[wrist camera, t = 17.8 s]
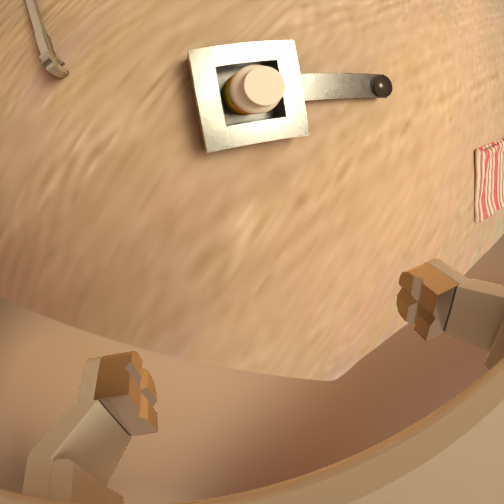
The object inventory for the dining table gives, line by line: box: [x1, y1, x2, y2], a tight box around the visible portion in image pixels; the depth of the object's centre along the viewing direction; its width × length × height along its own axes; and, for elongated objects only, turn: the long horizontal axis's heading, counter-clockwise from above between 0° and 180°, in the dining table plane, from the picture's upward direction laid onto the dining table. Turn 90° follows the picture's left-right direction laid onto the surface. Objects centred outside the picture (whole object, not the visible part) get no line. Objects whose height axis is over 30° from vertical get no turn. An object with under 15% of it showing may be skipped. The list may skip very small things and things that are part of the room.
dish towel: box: [474, 139, 504, 222], centre depth 48 cm, size 17×23×4 cm
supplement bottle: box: [221, 65, 285, 115], centre depth 28 cm, size 5×5×10 cm
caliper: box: [26, 0, 69, 78], centre depth 19 cm, size 20×1×6 cm, turn 26°
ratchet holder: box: [187, 40, 392, 153], centre depth 32 cm, size 27×12×4 cm, turn 99°
